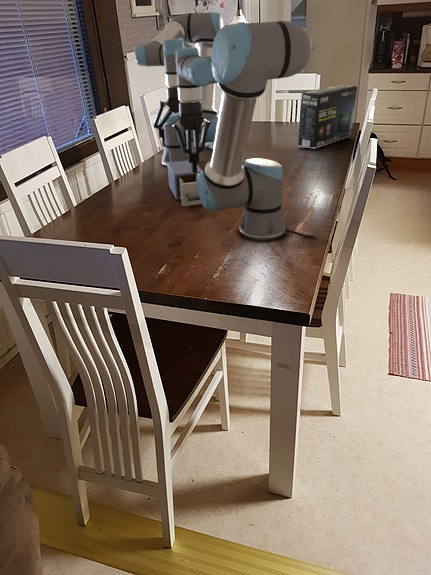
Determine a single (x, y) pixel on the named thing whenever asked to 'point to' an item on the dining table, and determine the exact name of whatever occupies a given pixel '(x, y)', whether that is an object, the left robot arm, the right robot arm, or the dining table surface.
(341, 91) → the router box
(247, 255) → the dining table surface
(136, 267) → the dining table surface
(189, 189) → the drawer
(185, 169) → the cabinet
